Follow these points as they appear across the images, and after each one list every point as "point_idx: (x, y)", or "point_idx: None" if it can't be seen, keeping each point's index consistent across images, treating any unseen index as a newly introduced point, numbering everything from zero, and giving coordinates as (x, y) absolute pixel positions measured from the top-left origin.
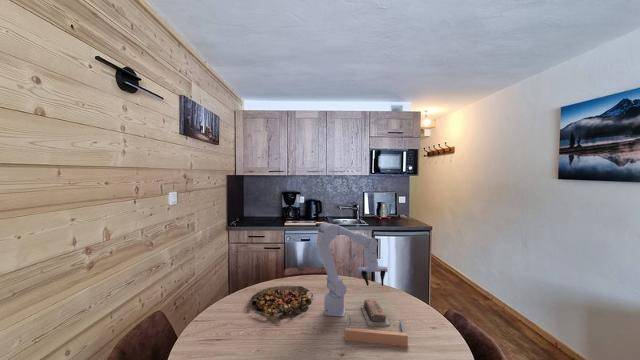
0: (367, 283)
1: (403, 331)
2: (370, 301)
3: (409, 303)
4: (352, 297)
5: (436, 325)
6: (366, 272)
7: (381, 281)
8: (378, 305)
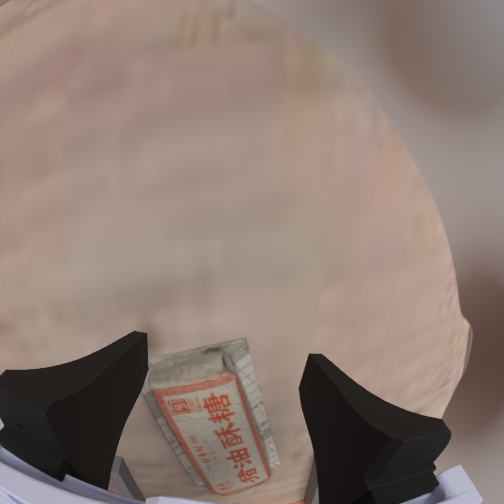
0: (137, 390)
1: (314, 501)
2: (190, 408)
3: (408, 252)
4: (66, 233)
5: (426, 400)
6: (81, 459)
7: (311, 433)
8: (242, 432)
